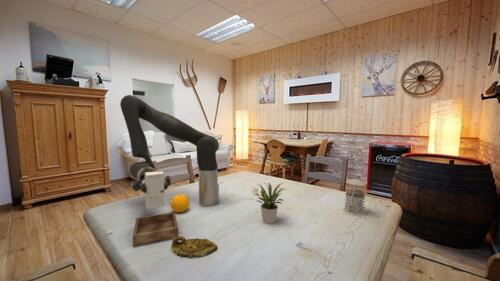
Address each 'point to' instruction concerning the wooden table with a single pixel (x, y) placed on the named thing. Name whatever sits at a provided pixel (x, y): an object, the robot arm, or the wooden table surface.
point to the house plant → (269, 203)
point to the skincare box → (154, 189)
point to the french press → (355, 198)
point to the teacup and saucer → (255, 191)
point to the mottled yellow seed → (192, 247)
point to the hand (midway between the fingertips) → (155, 188)
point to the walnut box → (155, 229)
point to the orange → (179, 203)
